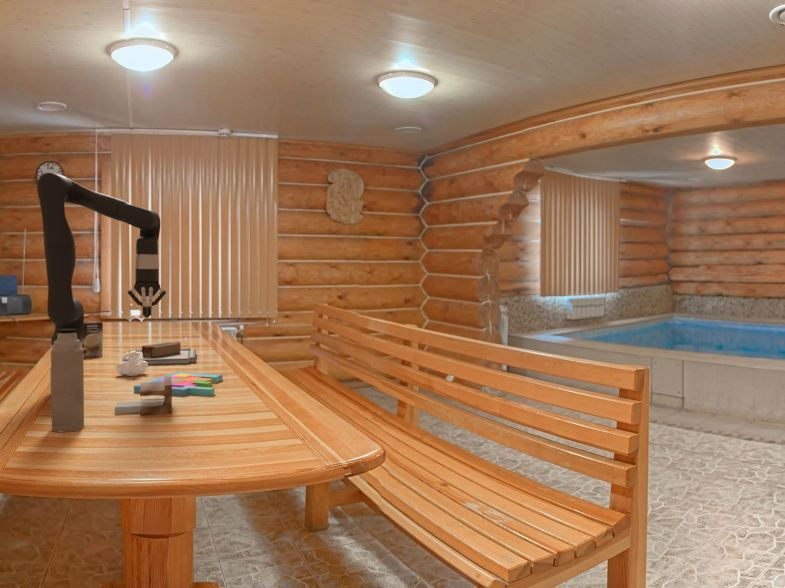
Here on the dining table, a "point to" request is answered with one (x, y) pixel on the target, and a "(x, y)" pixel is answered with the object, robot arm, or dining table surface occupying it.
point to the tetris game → (189, 383)
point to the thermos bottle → (67, 382)
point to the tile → (136, 406)
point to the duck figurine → (132, 365)
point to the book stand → (165, 354)
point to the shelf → (157, 389)
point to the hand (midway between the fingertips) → (147, 317)
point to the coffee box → (92, 339)
